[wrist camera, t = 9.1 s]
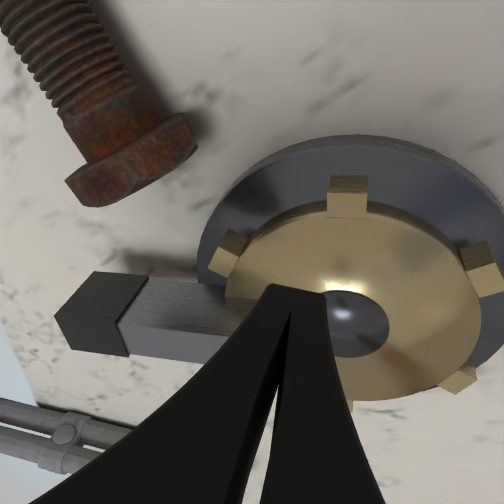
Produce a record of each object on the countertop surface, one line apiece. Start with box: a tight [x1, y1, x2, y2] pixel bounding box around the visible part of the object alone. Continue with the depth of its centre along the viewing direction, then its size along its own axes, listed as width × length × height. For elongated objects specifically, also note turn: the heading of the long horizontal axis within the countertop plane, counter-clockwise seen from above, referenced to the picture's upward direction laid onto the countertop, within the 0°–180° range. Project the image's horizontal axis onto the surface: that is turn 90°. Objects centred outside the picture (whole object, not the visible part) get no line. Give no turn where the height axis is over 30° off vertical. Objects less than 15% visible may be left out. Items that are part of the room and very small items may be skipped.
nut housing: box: [197, 135, 504, 391], centre depth 20 cm, size 15×15×2 cm
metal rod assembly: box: [0, 398, 132, 475], centre depth 34 cm, size 26×3×5 cm, turn 90°
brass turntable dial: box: [54, 175, 504, 412], centre depth 18 cm, size 19×13×4 cm
